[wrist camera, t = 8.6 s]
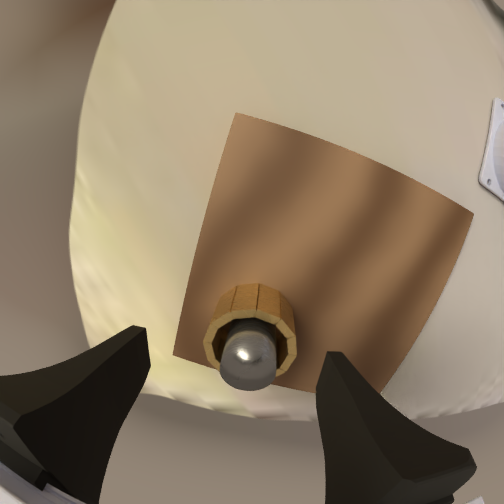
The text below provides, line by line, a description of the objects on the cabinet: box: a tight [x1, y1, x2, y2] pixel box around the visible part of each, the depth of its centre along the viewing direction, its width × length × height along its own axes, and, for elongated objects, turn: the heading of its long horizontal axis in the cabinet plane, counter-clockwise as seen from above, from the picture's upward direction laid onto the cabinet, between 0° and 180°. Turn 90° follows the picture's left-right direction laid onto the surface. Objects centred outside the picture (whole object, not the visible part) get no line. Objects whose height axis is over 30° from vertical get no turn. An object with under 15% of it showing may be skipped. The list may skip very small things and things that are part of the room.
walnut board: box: [173, 113, 474, 393], centre depth 19 cm, size 18×18×1 cm
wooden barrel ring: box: [203, 283, 297, 377], centre depth 18 cm, size 5×5×4 cm
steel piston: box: [220, 317, 276, 391], centre depth 17 cm, size 3×3×6 cm
